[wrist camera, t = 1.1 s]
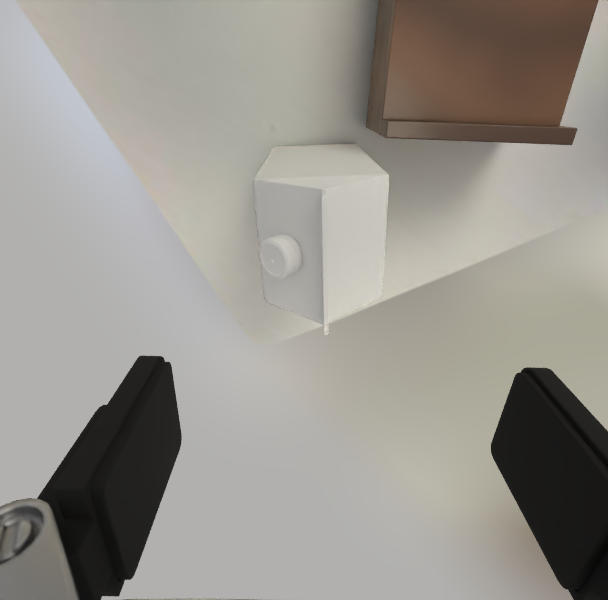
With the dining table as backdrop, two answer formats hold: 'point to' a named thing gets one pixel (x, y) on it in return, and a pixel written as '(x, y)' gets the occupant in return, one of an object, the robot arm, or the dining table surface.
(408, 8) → the brown wooden box
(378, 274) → the milk carton
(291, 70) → the dining table surface
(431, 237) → the dining table surface
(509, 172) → the dining table surface
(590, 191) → the dining table surface
